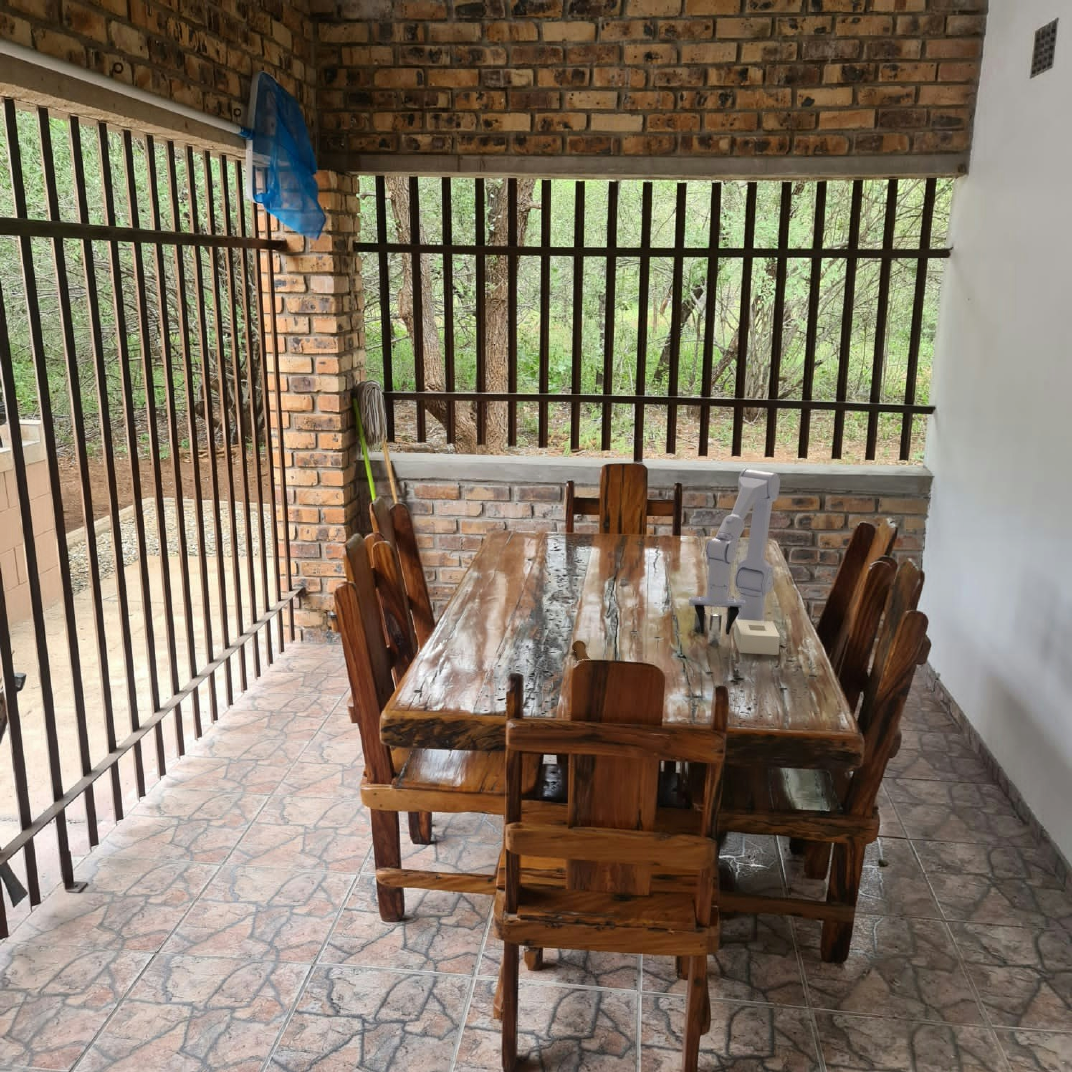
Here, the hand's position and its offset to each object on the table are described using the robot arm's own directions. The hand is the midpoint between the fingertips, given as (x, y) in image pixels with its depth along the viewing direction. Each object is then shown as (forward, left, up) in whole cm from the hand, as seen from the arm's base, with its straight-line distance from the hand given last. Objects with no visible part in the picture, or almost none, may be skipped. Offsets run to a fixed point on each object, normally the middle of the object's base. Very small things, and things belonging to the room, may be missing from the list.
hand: (714, 632), depth 255 cm
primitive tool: (+21, -33, -4) cm, 39 cm away
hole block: (0, +11, -3) cm, 11 cm away
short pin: (-10, -3, -3) cm, 11 cm away
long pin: (0, 0, -3) cm, 3 cm away
